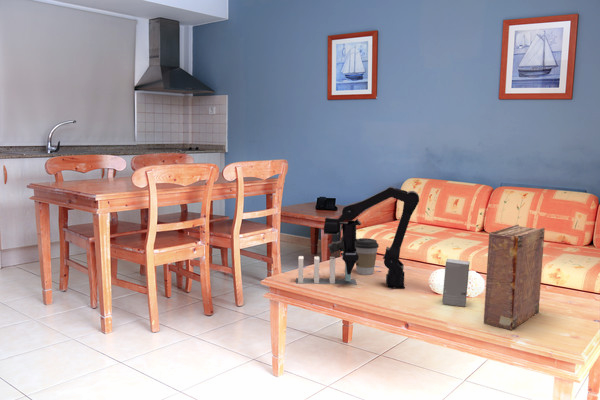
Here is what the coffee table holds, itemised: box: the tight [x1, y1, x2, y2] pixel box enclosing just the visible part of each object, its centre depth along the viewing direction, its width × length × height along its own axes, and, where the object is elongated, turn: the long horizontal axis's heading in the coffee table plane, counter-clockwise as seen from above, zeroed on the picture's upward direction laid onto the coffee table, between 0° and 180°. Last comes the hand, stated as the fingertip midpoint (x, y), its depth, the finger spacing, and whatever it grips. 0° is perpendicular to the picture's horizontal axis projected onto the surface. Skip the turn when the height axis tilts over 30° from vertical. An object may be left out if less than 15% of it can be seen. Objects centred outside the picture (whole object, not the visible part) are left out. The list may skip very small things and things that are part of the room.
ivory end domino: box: [297, 255, 305, 283], centre depth 217 cm, size 2×5×10 cm, turn 0°
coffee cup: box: [355, 237, 379, 276], centre depth 232 cm, size 11×11×15 cm
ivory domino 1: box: [313, 255, 320, 283], centre depth 217 cm, size 2×5×10 cm, turn 0°
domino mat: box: [295, 277, 358, 286], centre depth 218 cm, size 25×8×1 cm, turn 90°
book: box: [483, 224, 546, 331], centre depth 176 cm, size 25×9×30 cm, turn 138°
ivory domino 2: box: [328, 256, 336, 285], centre depth 216 cm, size 2×5×10 cm, turn 0°
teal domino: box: [344, 261, 352, 281], centre depth 216 cm, size 2×5×10 cm, turn 0°
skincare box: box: [441, 258, 471, 308], centre depth 191 cm, size 8×7×16 cm
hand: (348, 272), depth 217 cm, fingers closed on teal domino, 5 cm apart
